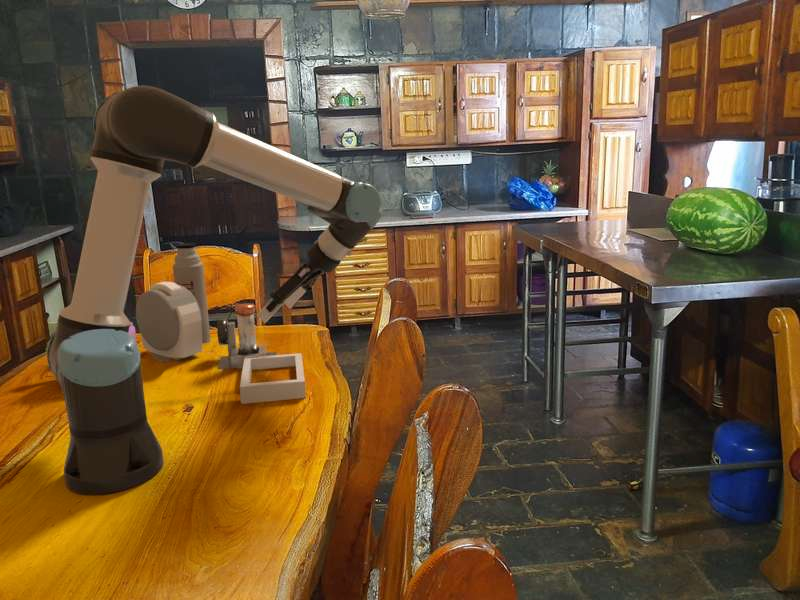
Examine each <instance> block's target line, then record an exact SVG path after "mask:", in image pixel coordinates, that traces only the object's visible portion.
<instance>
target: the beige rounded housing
mask: <svg viewBox="0 0 800 600" xmlns="http://www.w3.org/2000/svg"><path fill="white" fill-rule="evenodd" d="M135 319H136V322H137V327H138V330H139V334H140V339H141V342H142V343H141V344H142V346H143V349H145V350H147V351H149V352H150V353H151V358H152V359H153V360H158V361H161V362H165V363H170V361H171V360H175V361H181V360H184V359H186V358H189V357H192V356H195V355H197V354H199V353H202V352H203V344H202V316H201V311H200V308H199V305H198V302H197V301H196V299H195V297H194V296H193V294H192V293H191V292H190V291H189V290H188V289H186V288H185V287H183V286H180V285H177V284H176V283H174V282H172V281H161V282H158V283H154V284H151V285H150V287H149V289H148V290H146V291H144V292H142V293H141V294H140V295H139V297H138V299H137V302H136V307H135Z"/></svg>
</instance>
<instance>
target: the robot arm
mask: <svg viewBox="0 0 800 600" xmlns="http://www.w3.org/2000/svg"><path fill="white" fill-rule="evenodd" d="M92 122H93V123H92V124H93V134H94V139H93V144H92V145H93V146H92V149H91V153H90V154H91V155H90V160H91V162H92V163H93V164H94V167H96V170H97V174H96V180H95V184H94V188H93V189H94V190H93V195H92V200H91V205H90V210H89V214H88V220H87V223H86V228H85V233H84V234H85V235H84V239H83V244H82V249H81V254H80V259H79V263H78V269H77V274H76V278H75V283H74V289H73V293H72V298H71V303H70V304H69V305H68V306H66V307H65V308H63V309H61V310H60V311H59V313H58V319H57V323H56V328H55V331H54V333H53V334H52V336H51V337H50V340H49V341H50V342H49V341H48V342H49V344H48V348H47V347H46V348H47V352H46V361H47V364H48V367H49V369H50V371H51V373H52V375H53V376H54V378H55V379H56V380H57V383H58V384H59V385H60V388H61V390H62V394H63V398H64V403H65V410H66V415H67V423H68V428H69V434H70V435H69V436H70V438H69V439H70V440H69V442H68V443H69V444H68V449H67V452H66V457H65V462H64V467H63V477H64V481H65V486H66V488H68V489H69V490H70V491H72V492H74V493H77V494H80V495H81V494H82V495H106V494H112V493H117V492H121V491H124V490H128V489H131V488H134V487H136V486H139V485H141V484H143V483H146V482H147V481H148V480H150V479H152V478H153V477H154V476H156V475H157V474H158V473H159V472H160V471H161V470H162V468H163V466H164V454H163V448H162V446H161V444H160V442H159V440H158V439H157V437H156V435H155V433H154V432H153V428H152V427H151V425H150V424H149V422H148V421H149V420H148V417H147V416H148V415H147V408H146V401H145V391H144V384H143V375H142V367H141V353H140V350H139V346H138V343H137V339H136V340H135V339H134V337H133V336H132V335H130V334H129V333H128V332H129V327H130V323H131V321H130V319H129V318H128V316H127V315H126V314H125V312H124V311H125V306H126V302H127V297H128V291H129V287H130V282H131V276H132V272H133V268H134V262H135V258H136V252H137V248H138V244H139V239H140V234H141V229H142V223H143V220H144V214H145V209H146V207H147V206H146V205H147V200H148V196H149V190H150V186H151V184H152V183H153V182H154V181H156V180H157V179H159V178H161V177H162V173H163V169H164V168H163V167H164V164H165V161H171V162H175V163H179V164H181V165H186V166H188V167H190V168H193V169H195V168H198V167H201V166H204V167H208V168H211V169H213V170H216V171H218V172H221V173H222V174H223V173H224V174H226V175H227V176H230V177H231V176H232V177H233V178H237V179H239V180H242V181H244V182H248V183H250V184H252V185H255V186H258V187H260V188H262V189H265V190H267V191H268V190H269V191H270V192H273V193H276V194H279V195H281V196H283V197H287V198H290V199H291V200H293V201H294V202H295V203H296V204H297V205H299V206H300V207H301V208H302V209H304V210H305V211H308V212H309V213H311V214H312V215H314V216H316V217H318V218H319V219H321V220H322V221H323V220H324V221H325V222H327V223H328V224H329V225H328V226H327V227H326V228H325V229H324V231H323V232H322V233H321V234H320V235H319V236H318V238H317V240H315V241H314V242H313V243H312V245H311V246H310V247H308V249H307V252H306V254H307V255H306V256H307V258H308V260H309V261H308V262H305V263H304V264H302V265H301V266H300V267H299V268H298V270H297V271H296V272H295V273H294V274H293V275H291V276H290V277H289V279H287V280H286V281H285V282H284V283H283V284H282V285H281V286H280V287H279V288H278V289H276V291H275V292H270V296H271V297H270V299H269V300H268V302H267V303H265V305H264V306H263V307H262V308H261V310H259V312H258V313H257V314H256V316H258V318H259V319H260V320H261V321H262V322H263V323H264V324H266V323H267V322H268V321H269V320H270V319H271V318H272V317H273V316H274V315H275V314H276V312H277V311H278V310H279V309H280V308H281V307H282V306H283V305H286V306H287V308H288V309H291V308H292V307H293V306H294V305H296V303H297V302H298V300H300V298H301V297H303V295H304V294H305V293H306V292H307V291H308V292H311V291H312V290H313V286H314V285H315V283H316V282H317V281H318V279H319V278H320V277H321V275H322V274H323V273H328V274H330V273H332V272H333V271H335V269H337V267H338V266H339V265H340V264H341V263H342V261H343V260H344V259H345V258H346V257H347V256H349V257H351V256H352V252H351V251H352V250H353V249H355V248H356V246H357V245H358V244H359V243H360V242H361V241H362V240H363V239H364V238H365V236H367V235H368V234H369V233H370V232H371V231H372V230H373V229H374V227H375V226H376V225H377V223H379V222H380V220H381V218H382V216H383V213H384V212H383V209H382V206H381V205H382V198H381V195H380V192H379V191H378V189H377V188H376V187H375V186H373V185H372V184H369V183H366V182H363V181H359V182H357V181H354V180H352V179H349V178H346V177H344V176H342V175H339V174H337V173H335V172H333V171H331V170H329V169H327V168H325V167H321V166H319V165H317V164H316V163H315V164H314V163H312V162H310V161H308V160H305V159H303V158H301V157H299V156H296V155H294V154H292V153H289V152H287V151H285V150H283V149H280V148H278V147H275V146H273V145H271V144H268V143H266V142H264V141H261V140H259V139H257V138H254V137H252V136H251V135H248V134H245V133H243V132H241V131H239V130H236V129H234V128H232V127H230V126H227V125H224V124H222V123H220V122H218V121H217V118H216V115H215V114H214V113H213V112H210V111H208V110H206V109H204V108H202V107H200V106H197V105H195V104H193V103H191V102H189V101H187V100H185V99H183V98H181V97H179V96H177V95H174V94H173V93H170V92H168V91H166V90H164V89H161V88H159V87H158V88H157V87H155V86H150V85H143V84H142V85H134V86H131V87H129V88H126V89H123V90H121V91H116V92H113V93H112V94H110V95H108V96H106V97H105V98H104V99H102V100H101V102H100V103H99V104H98V107H97V108H96V109H95V113H94V115H93V121H92Z"/></svg>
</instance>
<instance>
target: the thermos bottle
mask: <svg viewBox="0 0 800 600" xmlns="http://www.w3.org/2000/svg"><path fill="white" fill-rule="evenodd" d="M195 247H196V243H190V242H189V243H188V242H187V243H179V244H177V245H176V248H177V250H176V252H177V253H176V254H177V255H176V256H174V259H173V260H174V261H173V262H174V264H173V265H172V271H173V281H174V282H173V283H176V284H177V285H180V286H183V287H185V288H186V289H188V290H189V291H190V292H191V293H192V294H193V296H194V297H195V299H196V301H197V302H198V305H199V308H200V311H201V316H202V345H203V344H209V343H210V342H211V331H210V321H209V311H208V300H207V290H206V281H205V279H206V278H205V272H204V270H205V269H204V263H203V262H201V260H202V259H201V256H200V255H199V254H198V253H197V250H196V248H195Z"/></svg>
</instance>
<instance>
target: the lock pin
mask: <svg viewBox="0 0 800 600" xmlns="http://www.w3.org/2000/svg"><path fill="white" fill-rule="evenodd" d="M255 312H256V309H255V304H254V303H246V302H245V303H239V304H236V305H235V306H234V313H235V314H236V320H237V321H236V322H237V330H238V333H237V334H238V342H239V347H240V355H246V354H257V348H256V346H257V339H256V338H257V337H256V326H255Z"/></svg>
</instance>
